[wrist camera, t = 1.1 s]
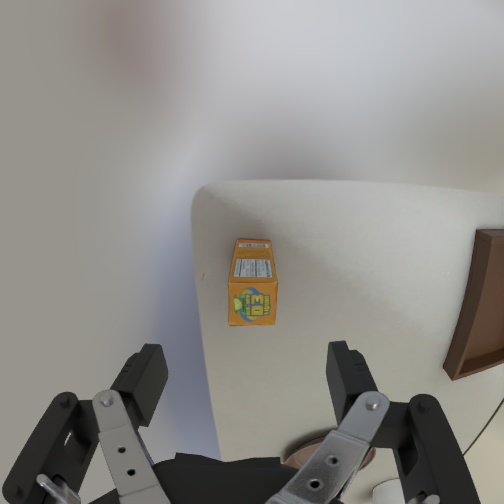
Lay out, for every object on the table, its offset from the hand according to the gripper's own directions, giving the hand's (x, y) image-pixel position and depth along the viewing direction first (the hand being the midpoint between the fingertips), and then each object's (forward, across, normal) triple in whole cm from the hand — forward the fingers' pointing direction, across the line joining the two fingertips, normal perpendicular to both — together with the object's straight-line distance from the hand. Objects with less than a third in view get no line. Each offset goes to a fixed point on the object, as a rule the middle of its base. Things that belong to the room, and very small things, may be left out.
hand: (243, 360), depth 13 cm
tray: (+15, -32, +8) cm, 36 cm away
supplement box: (+15, 0, 0) cm, 15 cm away
